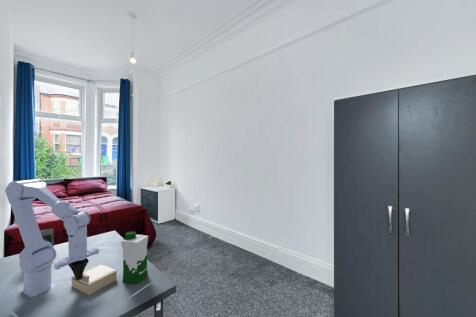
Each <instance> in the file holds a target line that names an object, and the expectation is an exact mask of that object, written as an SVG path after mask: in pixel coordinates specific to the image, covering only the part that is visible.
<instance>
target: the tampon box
mask: <svg viewBox="0 0 476 317" xmlns="http://www.w3.org/2000/svg"><path fill="white" fill-rule="evenodd" d="M54 230H55V229H54V228H46V229H40V232H41V235H42V238H43V240H44V241H47V242H50V243H51V245H52V247H53V248H54V249H55V247H54V244H55V242H54V240H55V239H54V238H55V237H54V236H55V235H54ZM39 250H41V249H38V250H36V251H39ZM36 251H34V252H36ZM34 252H33V253H34Z"/></svg>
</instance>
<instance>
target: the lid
mask: <svg viewBox="0 0 476 317" xmlns="http://www.w3.org/2000/svg"><path fill="white" fill-rule="evenodd" d="M98 265H99V264H98ZM91 268H92V267H91ZM89 269H90V268H89ZM115 270H116V269H114V268H113V267H110V266H107V265H104V264H102V263H101V265H99V266H97V267H95V268H92V269H90V270H88V271H86V272H84V273H83V275H82V279H80V280H79V281H81V282H83V283H85V284H87V285H88V284H89V283H91V282H93V281H95V280H97V279H99V278H101V277H103V276H105V275H107V274H109V273H111V272H113V271H115ZM74 279H75V277H74Z"/></svg>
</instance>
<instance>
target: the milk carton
mask: <svg viewBox="0 0 476 317" xmlns="http://www.w3.org/2000/svg"><path fill="white" fill-rule="evenodd" d="M148 241H149V235H144V234H137V232H136V231H127V232H125V238H123V239H122V240H120V244H121V248H122V266H123V267H122V268H123V269H122V283H128V284H135V285H138V284H139V283H140V282H142V281H143V280H144V279H146V277H147V276H148V275H149V274H148V273H149V272H148Z"/></svg>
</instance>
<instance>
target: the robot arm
mask: <svg viewBox="0 0 476 317" xmlns="http://www.w3.org/2000/svg"><path fill="white" fill-rule="evenodd" d="M47 186H48V185H47V182H45V181H43V179H42V178H33V179H26V180H25V179H23V180H12V181H10V182H9V183H8V184H7V185H6V188H5V190H4V191H5V195H6V197H7V200H8V204H9V205H10V206H11V211H12V213H13V216H14V219H15V221H16V225H17V228H18V230H19V234H20V236H21V238H22V241H23V244H24V248H23V249H22V251H21V252H20V253H19V254H18V257H19V268H20V269H21V271H23V276H22V277H23V278H22V279H23V280H22V281H23V288H21V289H20V292H22V293H23V294H25V295H27V296H28V297H29V298H33V297H36V296H37V295H40V294H42V293H43V292H45V291H48V290H51V289H53V288H55V287H56V286H57V284H55V283H53V282H52V264H53V267H54V270H60V269H61V268H63V267H66V266H68V267H69V268H70V270H71V271H72V273H73V276H75V279H76V280H80V279H82V275H83V272H84V271H85V270H86V267H87V265H88V264H89V257H91V256H94V255H98V254H100V249H99V248H98V247H95V248H92V249H88V235H87V234H88V227H87V225H89V224H90V222H91V216H90V214H89V213H88V212H87V211H85V210H79V209H78V208H76V207H74V206H73V205H72V204H71V203H70V201H68V200H60V199H59V198H58V197H57V196H56V195H55V194H54V193H53V192H52V191H51V190H50V189H49V188H47ZM36 199H38V201H40V202H42V203H44V204H46V205H47V206H48V207H50V208H51V213H52V214H53V215H55V216H56V217H57V218H59V219H60V220H61V222H62V221H63V227H64V229H65V230H66V234H67V235H68V236H67V237H68V239H67V240H68V241H67V242H68V256H67V257H65V258H63V259H61V260H58V261H57V262H55V263H54V261H55V259H56V257H57V251H56V249H55V247H54V248H53V247H52V245H51V243H50V242H47V241H44V240H43V238H42V235H41V232H40V230H41V229H40V226H39V224H38V221H37V219H36V215H35V214H34V210H33V207H32V203H33V201H35V200H36ZM38 249H41V250H39V251H36V250H38ZM34 251H36V252H34ZM33 252H34V253H33Z"/></svg>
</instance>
